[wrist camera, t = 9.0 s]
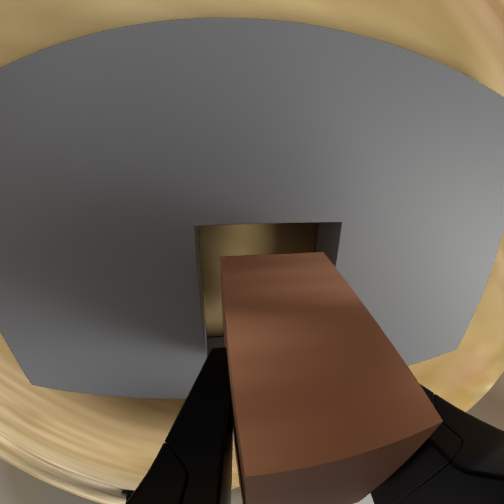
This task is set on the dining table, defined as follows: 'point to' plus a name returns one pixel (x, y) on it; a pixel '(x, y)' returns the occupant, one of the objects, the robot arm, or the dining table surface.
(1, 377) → the dining table surface
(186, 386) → the slotted board
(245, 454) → the brown rectangular block
